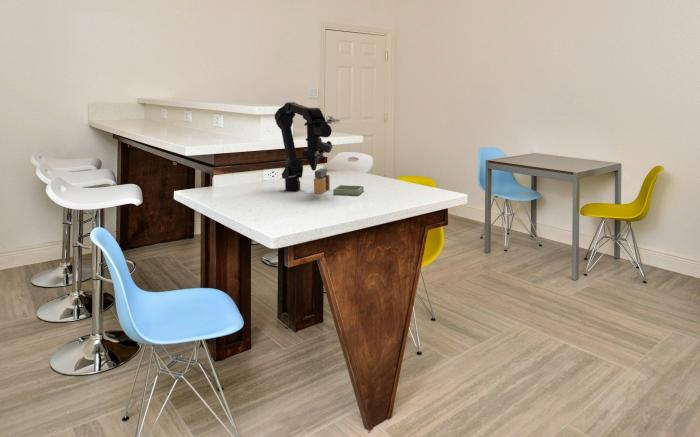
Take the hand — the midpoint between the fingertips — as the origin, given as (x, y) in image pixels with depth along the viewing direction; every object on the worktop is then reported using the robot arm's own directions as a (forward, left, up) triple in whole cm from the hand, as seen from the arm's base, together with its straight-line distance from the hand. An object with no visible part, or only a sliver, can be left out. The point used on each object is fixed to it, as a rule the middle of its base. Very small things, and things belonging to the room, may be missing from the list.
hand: (314, 170), depth 244 cm
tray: (+14, +10, -12) cm, 21 cm away
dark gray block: (0, +11, -4) cm, 12 cm away
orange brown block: (0, +9, -12) cm, 15 cm away
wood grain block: (0, +17, -12) cm, 21 cm away
